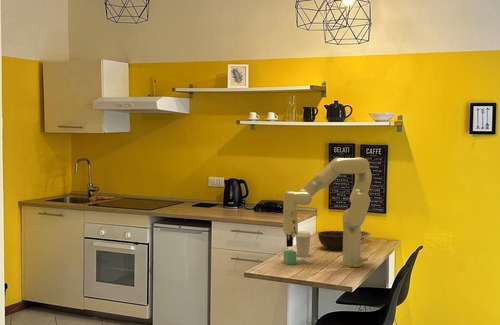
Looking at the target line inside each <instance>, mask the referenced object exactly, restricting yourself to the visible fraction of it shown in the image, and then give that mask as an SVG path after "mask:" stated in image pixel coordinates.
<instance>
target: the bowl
mask: <svg viewBox="0 0 500 325" xmlns="http://www.w3.org/2000/svg"><path fill="white" fill-rule="evenodd" d="M317 234H318V240H319V242H320V243H321V245H322V246H323V247H325V248H326V249H328V250H333V251H338V250H343V230H326V231H319V232H318V233H317Z"/></svg>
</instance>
